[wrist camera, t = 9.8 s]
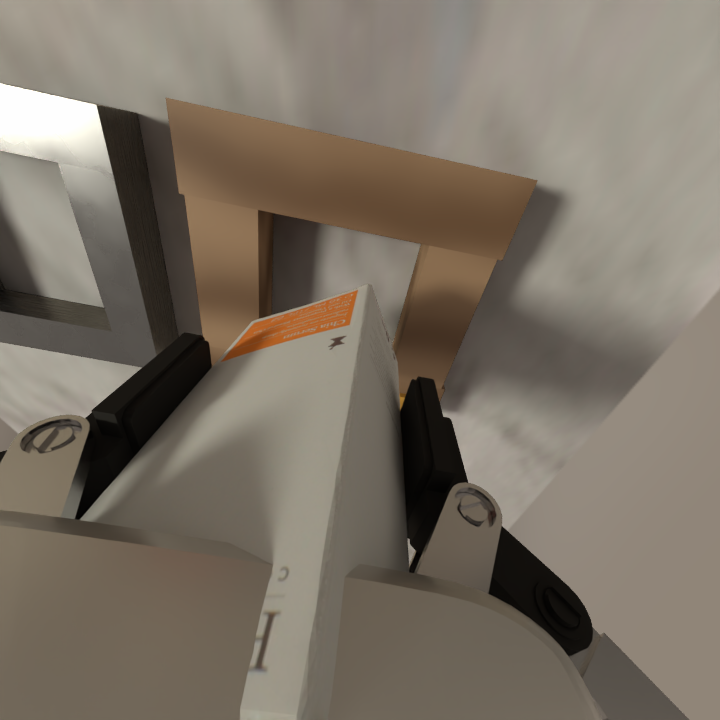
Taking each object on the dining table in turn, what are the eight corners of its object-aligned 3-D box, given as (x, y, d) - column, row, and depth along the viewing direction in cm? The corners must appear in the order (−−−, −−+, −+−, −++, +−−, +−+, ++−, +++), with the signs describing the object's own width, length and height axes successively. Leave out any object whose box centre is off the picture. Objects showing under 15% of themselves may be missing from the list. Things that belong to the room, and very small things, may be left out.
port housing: (197, 107, 14) (159, 95, 12) (516, 178, 15) (541, 180, 13) (221, 366, 23) (203, 390, 20) (424, 403, 24) (429, 430, 21)
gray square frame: (-169, 46, 14) (-266, 25, 12) (137, 113, 15) (96, 104, 12) (-15, 315, 22) (-57, 331, 20) (180, 351, 22) (160, 370, 20)
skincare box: (371, 278, 12) (322, 755, 2) (398, 360, 14) (433, 795, 4) (246, 318, 14) (-116, 725, 4) (288, 388, 16) (127, 766, 6)
